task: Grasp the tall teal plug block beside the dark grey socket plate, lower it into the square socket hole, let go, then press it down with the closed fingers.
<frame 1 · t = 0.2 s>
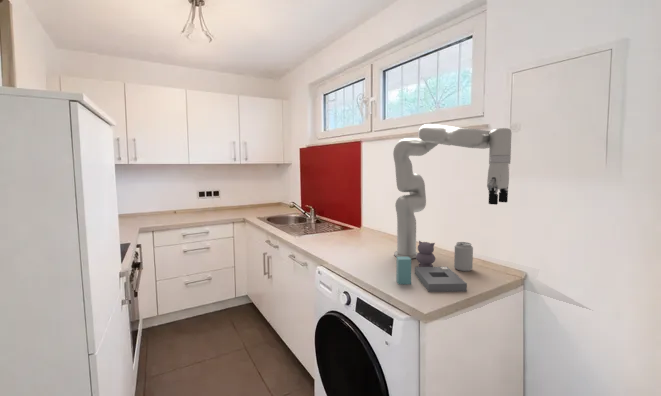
hand: (498, 203, 127), 31 cm above the countertop, tool pointing down, fingers open, 9 cm apart
can: (463, 269, 141), on the countertop
plug: (403, 282, 127), on the countertop
cat figurine: (425, 268, 144), on the countertop
socket: (438, 281, 127), on the countertop
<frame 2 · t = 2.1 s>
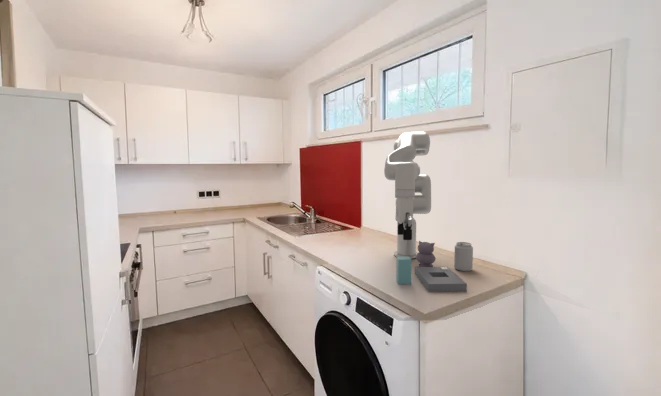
hand: (404, 237, 125), 18 cm above the countertop, tool pointing down, fingers open, 9 cm apart
nothing on the countertop moved.
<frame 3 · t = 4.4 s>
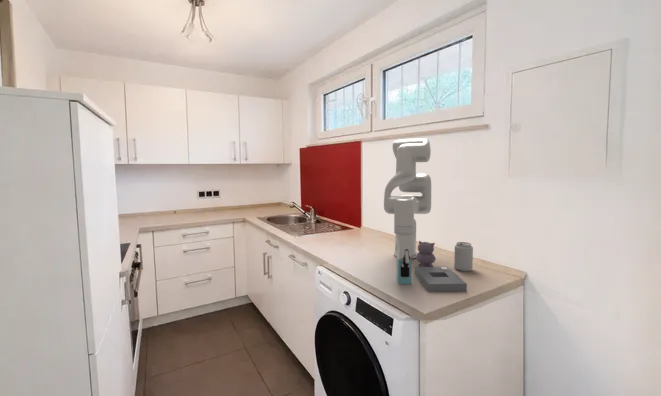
hand: (403, 274, 126), 3 cm above the countertop, tool pointing down, fingers closed on plug, 3 cm apart
plug: (403, 282, 127), on the countertop, touching gripper
everything else where it was.
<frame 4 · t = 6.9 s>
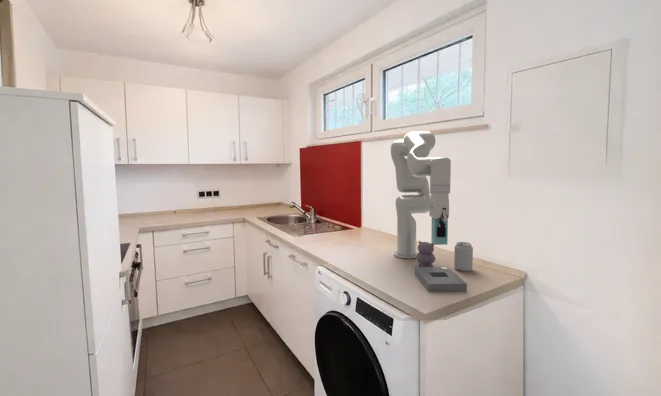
hand: (439, 235, 125), 19 cm above the countertop, tool pointing down, fingers closed on plug, 4 cm apart
plug: (439, 243, 125), point 16 cm above the countertop, touching gripper
everything else where it was.
when the fingers open (4 cm above the countertop, at t = 9.5 s): plug stays where it is, resting in socket.
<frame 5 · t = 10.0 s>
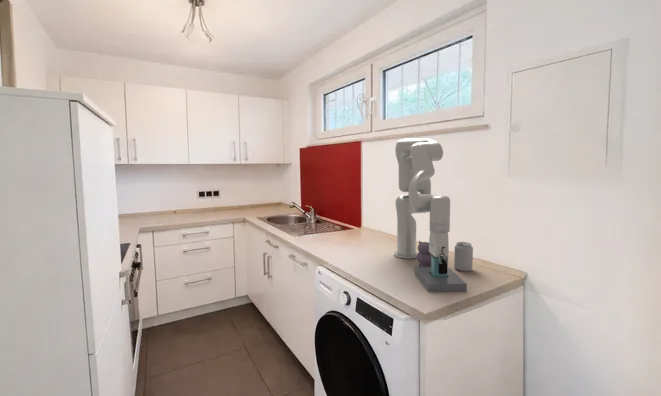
hand: (438, 269, 126), 5 cm above the countertop, tool pointing down, fingers open, 9 cm apart
plug: (438, 281, 127), resting in socket
everything else where it was.
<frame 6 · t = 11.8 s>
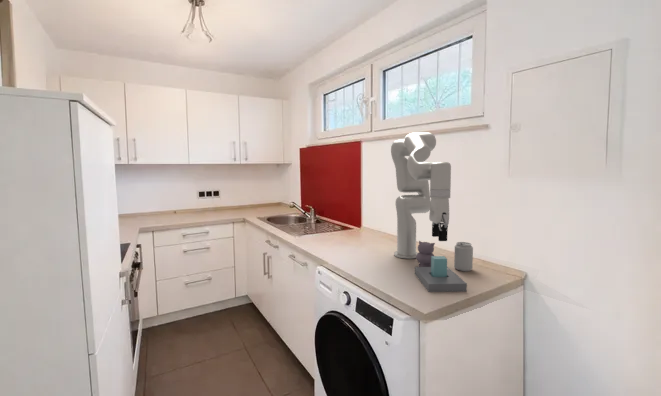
hand: (439, 238, 125), 18 cm above the countertop, tool pointing down, fingers open, 7 cm apart
nothing on the countertop moved.
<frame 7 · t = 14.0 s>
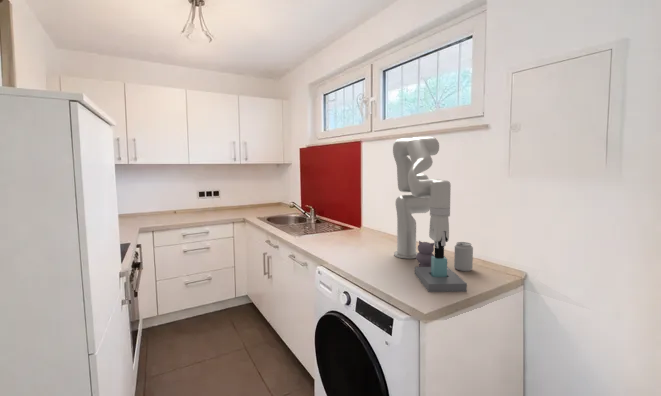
hand: (439, 257, 125), 10 cm above the countertop, tool pointing down, fingers closed
plug: (438, 281, 127), resting in socket, touching gripper
everything else where it was.
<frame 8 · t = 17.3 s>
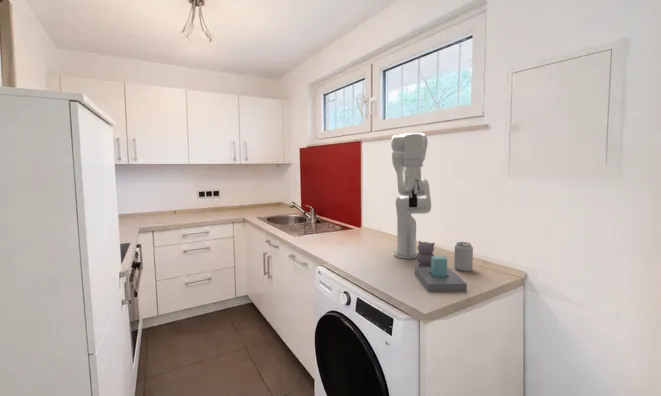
hand: (412, 207, 134), 29 cm above the countertop, tool pointing down, fingers closed
plug: (438, 281, 127), resting in socket
everything else where it was.
at the end: plug 0.0 cm off-centre on the socket, point 0.0 cm above the socket's base; plug tilted 0°; the gripper is holding nothing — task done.
